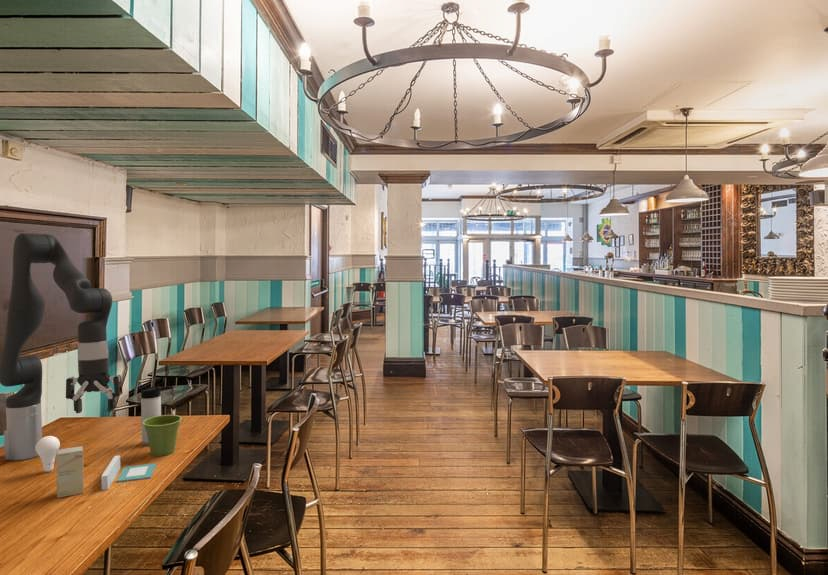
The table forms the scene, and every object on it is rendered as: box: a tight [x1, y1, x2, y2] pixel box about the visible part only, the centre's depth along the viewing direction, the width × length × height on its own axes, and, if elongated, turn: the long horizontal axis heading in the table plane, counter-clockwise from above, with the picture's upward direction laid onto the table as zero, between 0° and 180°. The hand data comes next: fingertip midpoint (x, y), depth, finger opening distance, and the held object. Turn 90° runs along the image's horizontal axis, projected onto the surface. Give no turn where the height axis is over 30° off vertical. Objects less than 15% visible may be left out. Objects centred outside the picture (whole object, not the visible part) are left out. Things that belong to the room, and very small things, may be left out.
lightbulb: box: [35, 435, 61, 473], centre depth 155 cm, size 6×6×11 cm
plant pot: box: [143, 414, 183, 457], centre depth 171 cm, size 12×12×11 cm
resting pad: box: [116, 462, 158, 483], centre depth 155 cm, size 9×11×1 cm
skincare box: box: [56, 445, 84, 499], centre depth 141 cm, size 6×4×12 cm
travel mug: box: [140, 386, 162, 446], centre depth 181 cm, size 6×7×20 cm
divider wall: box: [100, 455, 121, 491], centre depth 151 cm, size 2×16×4 cm, turn 19°
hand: (95, 411), depth 149 cm, fingers open, 8 cm apart
